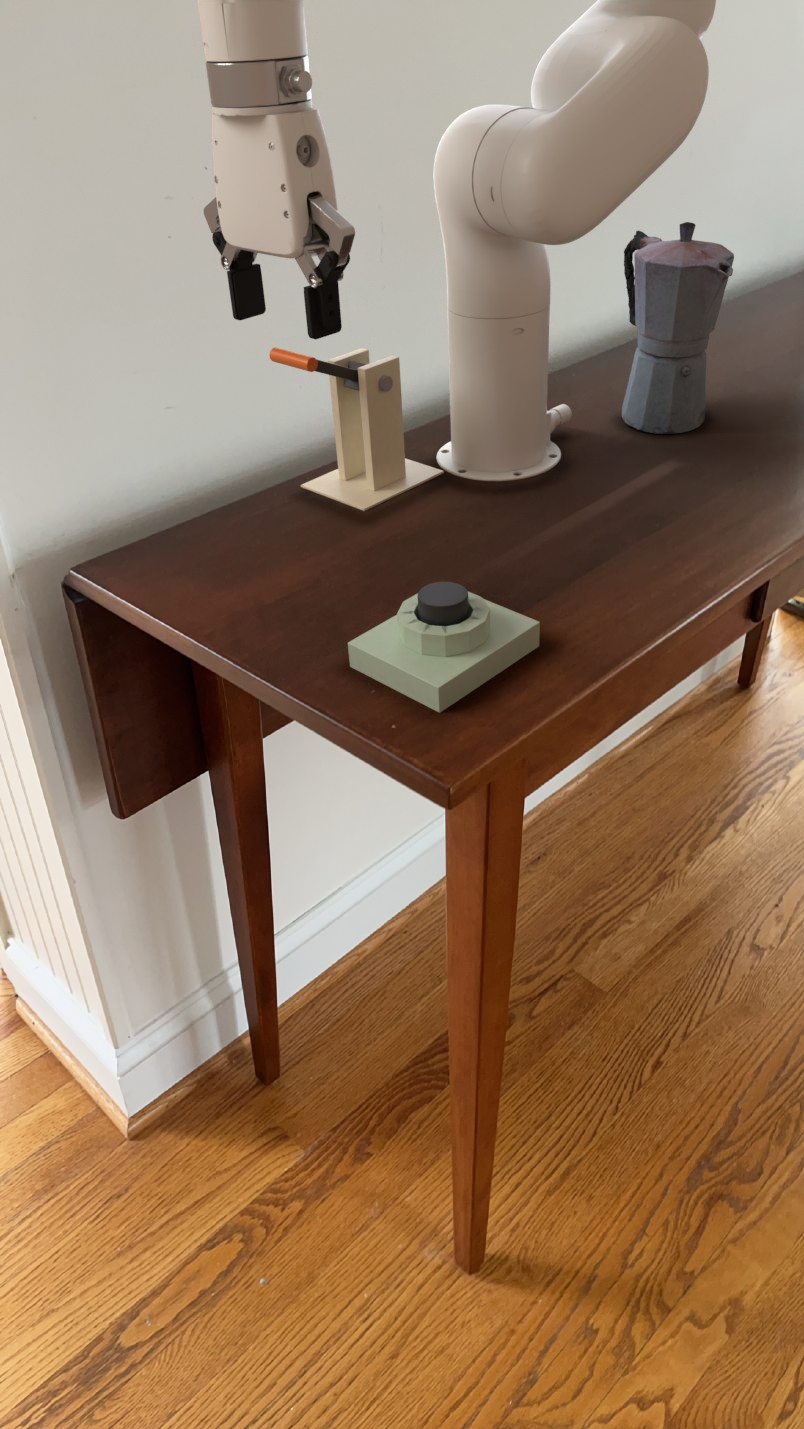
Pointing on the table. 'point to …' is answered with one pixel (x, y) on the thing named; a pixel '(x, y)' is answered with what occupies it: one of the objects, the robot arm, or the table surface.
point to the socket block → (443, 651)
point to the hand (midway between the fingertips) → (286, 325)
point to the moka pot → (672, 327)
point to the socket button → (443, 604)
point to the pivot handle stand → (369, 437)
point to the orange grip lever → (318, 366)
